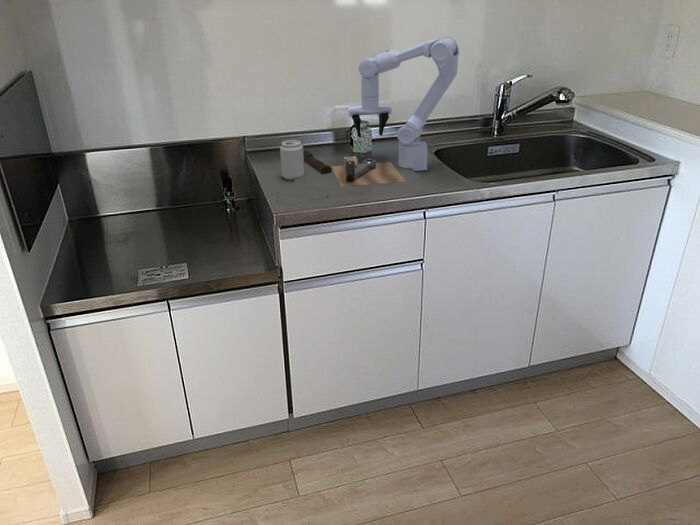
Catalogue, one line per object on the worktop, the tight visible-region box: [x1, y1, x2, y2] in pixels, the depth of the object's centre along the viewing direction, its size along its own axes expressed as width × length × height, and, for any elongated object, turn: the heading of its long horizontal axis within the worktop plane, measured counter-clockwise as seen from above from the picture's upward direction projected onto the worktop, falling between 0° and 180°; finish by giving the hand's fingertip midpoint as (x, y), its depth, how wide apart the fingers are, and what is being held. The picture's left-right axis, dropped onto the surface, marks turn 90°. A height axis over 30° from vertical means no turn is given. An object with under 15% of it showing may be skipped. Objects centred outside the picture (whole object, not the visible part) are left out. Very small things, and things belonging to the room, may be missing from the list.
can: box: [279, 139, 305, 181], centre depth 191 cm, size 8×8×12 cm
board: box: [330, 155, 407, 188], centre depth 192 cm, size 21×20×4 cm
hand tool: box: [303, 150, 333, 175], centre depth 200 cm, size 19×4×5 cm, turn 26°
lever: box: [346, 157, 377, 181], centre depth 190 cm, size 18×4×6 cm, turn 153°
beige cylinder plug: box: [347, 157, 359, 168], centre depth 195 cm, size 4×4×3 cm
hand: (369, 135), depth 200 cm, fingers open, 7 cm apart
